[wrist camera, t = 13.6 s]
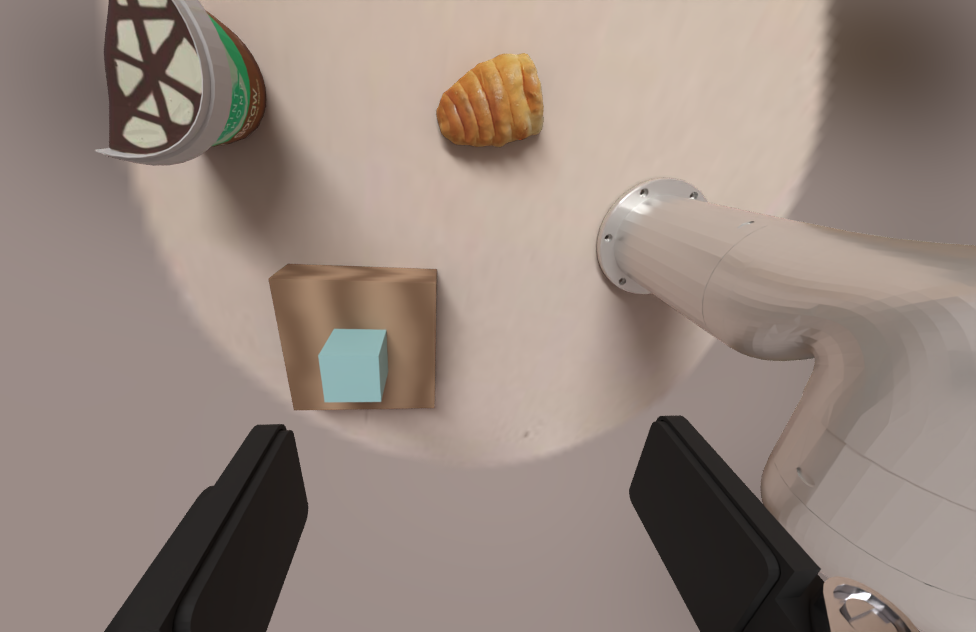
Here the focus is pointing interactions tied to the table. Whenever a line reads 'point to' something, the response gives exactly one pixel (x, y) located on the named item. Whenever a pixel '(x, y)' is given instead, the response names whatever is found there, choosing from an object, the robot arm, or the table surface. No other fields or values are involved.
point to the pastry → (493, 103)
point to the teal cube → (354, 365)
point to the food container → (176, 82)
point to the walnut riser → (358, 305)
